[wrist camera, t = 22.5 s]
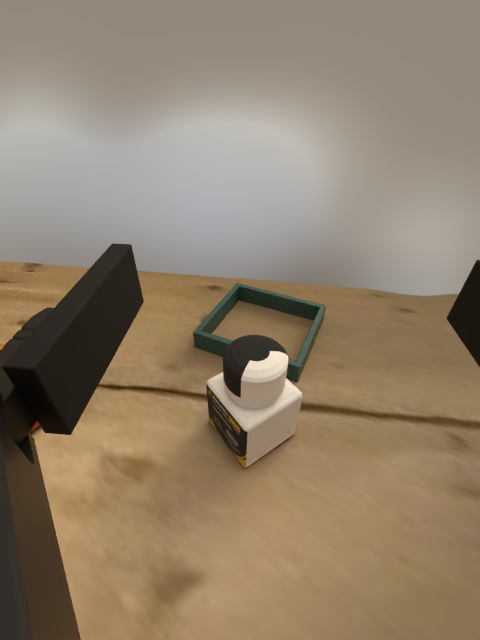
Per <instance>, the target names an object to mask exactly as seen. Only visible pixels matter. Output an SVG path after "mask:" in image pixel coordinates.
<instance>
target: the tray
mask: <svg viewBox="0 0 480 640" xmlns="http://www.w3.org/2000/svg"><path fill="white" fill-rule="evenodd" d="M238 300H243V301H246V302H250V303H254V304H257V305H261V306H265V307H268V308H272V309H276V310H279V311H283V312H287V313H290V314H294V315H298V316H301V317H305V318H308V319H312V320H314V322H313V324H312V327H311V329H310V331H309V333H308V336H307V338H306V340H305V342H304V344H303V347H302V349H301V351H300V353H299V356H298V358H297V360H296V361H293V360H290V359H288V367H287V374H286V378H287V379H290V380H293V381H296V382H297V381H298V379H299V377H300V374H301V372H302V370H303V367H304V365H305V362H306V360H307V357H308V355H309V353H310V350H311V348H312V345H313V343H314V341H315V338H316V336H317V333H318V331H319V329H320V326H321V324H322V321H323V318H324V314H325V309H326V306H325V305H321V304H317V303H313V302H309V301H305V300H301V299H297V298H293V297H289V296H285V295H282V294H278V293H274V292H270V291H266V290H262V289H258V288H254V287H250V286H246V285H242V284H238V283H237V284H236V285H235V286H234V287H233V288H232V289H231V290H230V292H229V293H228V294H227V295H226V296H225V297H224V298H223V299H222V301H221V302H220V303H219V304H218V305H217V306H216V307H215V308H214V310H213V311H212V312H211V313H210V314H209V315H208V316H207V317H206V319H205V320H204V321H203V322H202V323H201V324H200V325H199V326H198V328H197V329H196V330H195V331H194V332H193V335H194V345H195V347H197V348H200V349H203V350H206V351H208V352H211V353H214V354H217V355H220V356H223V353H224V351H225V349H226V347H227V346H228V345H229V344H230V343H231V342H233V341H231V340H228V339H225V338H222V337H218V336H215V335H212V334H211V333H212V332H213V331H214V329H215V328H216V327H217V326H218V324H219V323H220V322H221V321H222V320H223V318H224V317H225V316H226V315H227V313H228V312H229V311H230V310H231V309H232V307H233V306H234V305H235V304H236V302H237V301H238Z"/></svg>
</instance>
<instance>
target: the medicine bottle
mask: <svg viewBox="0 0 480 640" xmlns="http://www.w3.org/2000/svg"><path fill="white" fill-rule="evenodd" d="M287 367H288V355H287V353H286V351H285V349H284V348H283V347H282V346H281V345H280V344H279V343H278V342H276V341H275V340H273V339H271V338H269V337H266V336H261V335H248V336H243V337H240V338H238V339H236V340H234V341H233V342H231V343H230V344H229V345H228V346H227V347H226V349H225V351H224V353H223V372H222V373H220V374H218V375H216V376H214V377H212V378H210V379H209V380H207V383H206V384H207V397H208V410H209V420H210V422H211V424H212V425H213V426H214V428H215V429H216V430H217V432H218V433H219V434H220V436H221V437H222V439H223V440H224V441H225V443H226V444H227V445H228V447H229V448H230V449H231V451H232V452H233V453H234V455H235V456H236V458H237V459H238V460H239V462H240V463H241V464H242V466H243V467H245V468H246V467H248V466H250V465H251V464H252V463H254V462H255V461H257V460H258V459H259V458H261V457H262V456H264V455H265V454H267V453H268V452H269V451H271V450H272V449H274V448H275V447H276V446H278V445H279V444H281V443H282V442H284V441H285V440H286V439H288V438H289V437H291V436H292V435H293V434H294V433H295V429H296V425H297V420H298V415H299V410H300V406H301V401H302V393H301V392H300V391H299V390H298V389H297V388H296V387H295V386H294V385H293V384H292V383H291V382H290V381H289V380H288V379H287V378H286V374H287Z"/></svg>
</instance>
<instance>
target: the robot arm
mask: <svg viewBox="0 0 480 640" xmlns="http://www.w3.org/2000/svg"><path fill="white" fill-rule="evenodd" d="M143 302H144V301H143V296H142V292H141V287H140V283H139V278H138V273H137V269H136V264H135V260H134V255H133V251H132V246H131V245H129V244H112V245H111V246H110V247H109V248H108V249H107V250H106V251H105V253H104V254H103V255H102V256H101V257H100V258H99V259H98V260H97V261H96V262H95V264H94V265H93V266H92V267H91V268H90V269H89V270H88V271H87V272H86V274H85V275H84V276H83V277H82V278H81V279H80V280H79V281H78V282H77V283H76V285H75V286H74V287H73V288H72V289H71V290H70V291H69V292H68V293H67V295H66V296H65V297H64V298H63V299H62V300H61V301H60V302H59V303H58V305H57V306H56V307H55V308H46V309H44V310H42V311H41V312H39V313H37V314H36V315H34V316H33V317H31V318H30V319H29V320H28V321H27V323H26V324H25V325H24V326H23V327H22V329H21V330H19V331H18V332H17V333H16V334H15V335H14V336H13V339H10V340H9V341H8V342H7V343H6V344H5V346H4V347H3V348H2V349H1V350H0V640H81V639H80V634H79V630H78V626H77V622H76V617H75V613H74V609H73V605H72V600H71V596H70V592H69V587H68V583H67V579H66V575H65V570H64V566H63V562H62V558H61V553H60V549H59V545H58V540H57V536H56V532H55V528H54V523H53V519H52V515H51V511H50V506H49V502H48V498H47V493H46V489H45V485H44V481H43V476H42V472H41V468H40V464H39V459H38V455H37V451H36V446H35V442H34V439H33V437H32V435H31V434H30V431H31V429H32V428H33V426H34V425H35V423H36V422H37V421H38V423H39V424H40V426H41V427H42V429H43V430H44V432H45V433H54V434H66V435H71V433H72V431H73V430H74V428H75V426H76V424H77V422H78V421H79V419H80V417H81V415H82V413H83V411H84V410H85V408H86V406H87V404H88V402H89V400H90V399H91V397H92V395H93V393H94V391H95V390H96V388H97V386H98V384H99V382H100V380H101V379H102V377H103V375H104V373H105V371H106V369H107V368H108V366H109V364H110V362H111V360H112V359H113V357H114V355H115V353H116V351H117V349H118V348H119V346H120V344H121V342H122V340H123V338H124V337H125V335H126V333H127V331H128V329H129V328H130V326H131V324H132V322H133V320H134V318H135V317H136V315H137V313H138V311H139V309H140V307H141V306H142V304H143ZM447 320H448V321H449V323H450V324H451V326H452V327H453V329H454V330H455V332H456V333H457V334H458V336H459V337H460V339H461V340H462V342H463V343H464V345H465V346H466V348H467V349H468V351H469V352H470V354H471V355H472V357H473V358H474V359H475V361H476V362H477V364H478V365H479V367H480V260H477V261H476V263H475V265H474V267H473V269H472V271H471V273H470V274H469V276H468V278H467V280H466V282H465V284H464V286H463V288H462V290H461V292H460V293H459V295H458V297H457V299H456V301H455V303H454V305H453V307H452V309H451V311H450V313H449V315H448V316H447Z"/></svg>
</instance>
